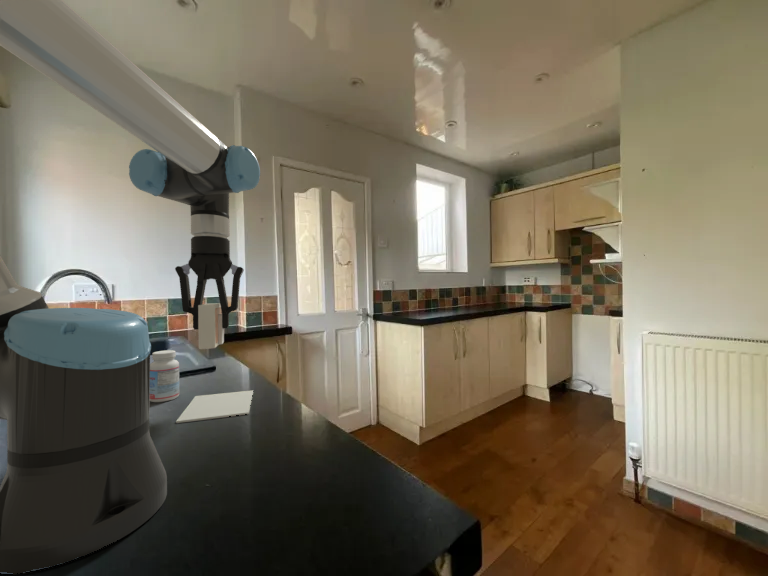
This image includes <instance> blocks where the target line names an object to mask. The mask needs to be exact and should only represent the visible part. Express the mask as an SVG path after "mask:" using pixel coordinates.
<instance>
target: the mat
mask: <svg viewBox="0 0 768 576" xmlns="http://www.w3.org/2000/svg"><path fill="white" fill-rule="evenodd" d="M253 391H254V389H253V390H243V391H233V392H224V393H223V392H221V393H215V394H202V395H195V396H194V397H193V399H192V400H191V401H190V403H189V404H188V405H187V407H186V408H185V409H184V410H183V412H182V413H181V414H180V415H179V416H178V418H177V420H176V421H175V423H176V424H182V423H189V422H196V421H206V420H212V419H213V420H214V419H221V418H229V416H231V417H237V416H236V415H239V416H246V415H245V414H247V415H250V410H251V406H250V405H252V401H251V400H253V397H252V395H254V392H253Z"/></svg>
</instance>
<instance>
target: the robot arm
mask: <svg viewBox="0 0 768 576" xmlns="http://www.w3.org/2000/svg"><path fill="white" fill-rule="evenodd" d="M0 47H1V48H3V49H5V50H6V51H7V52H9V53H11V54H12V55H14V56H15V57H17V58H19V60H21V61H22V62H24V63H26V64H27V65H28V66H30V67H31V68H33V69H34V70H35V71H37V72H39V73H40V74H42V75H43V76H45V77H46V78H47V79H49V80H51V81H52V82H53V83H55V84H57V85H58V86H60V87H61V88H62V89H64V90H65V91H67V92H69V93H70V94H72V96H75V97H76V98H78V99H79V100H81V101H82V102H83V103H85V104H86V105H88V106H89V107H90V108H93V109H94V110H95V111H97V112H98V113H100V114H102V115H103V116H105V118H107V119H108V120H110V121H111V122H113V123H115V124H116V125H117V126H119V127H121V128H122V129H124V130H125V131H127V132H128V133H130V134H131V135H132V136H134V137H135V138H137V139H138V140H140V141H142V142H143V143H145V144H146V145H147V146H149V147H150V148H152V149H149V148H143V149H140V150H138V151H137V152H136V153H135V154H134V155H133V156H132V158H131V159H130V162H129V166H128V169H129V173H128V175H129V179H130V182H131V183H132V184H133V186H134V187H135V188H136V189H138V190H139V191H142V192H145V193H148V194H150V195H152V196H154V197H160V198H163V199H165V200H166V199H167V200H171V201H174V202H178V203H181V204H183V205H184V204H185V205H188V206H190V234H191V235H192V237H191V238H190V258H189V260H188V261H187V263H186V264H183V265H181V266H179V265H178V266H176V267H175V268H174V270H175V272H176V274H177V276H178V277H179V286H180V296H181V297H180V298H181V306H182V311H183V312H184V313H188V314H191V315H192V329H193V330H194V331H195V330H196V331H198V305H202V304H204V303H203V301H204V296H205V293H206V292H205V291H206V284H207V281H208V280H215V283H216V289H217V294H218V300H219V303H220V305H221V311H222V312H221V313H222V314H218V344H219V345H223V344H224V342H225V331H224V330H225V329H228V328H229V326H230V313H231V312H234V311H236V310H238V307H239V296H240V284H241V278H242V275H243V273H244V270H245V269H244V268H243V267H242V266H237V265H236V264H234V263H233V262H232V260H231V253H230V252H231V251H230V250H231V249H230V248H231V246H230V240H229V237H230V194H234V193H235V194H239V193H240V192H244V191H245V192H247V191H251V190H254V189H255V188H256V187H258V185H259V183H260V176H261V168H260V164H259V161H258V159H257V157H256V156H255V153H254V152H253V151H252V150H251V149H249V148H248V147H246V146H243V145H234V144H232V145H231V146H229V145H228V146H227V145H226V144H225V143H224V142H223V141H222V140H221V139H220V138H219V137H217V136H216V135H215V134H214V133H213V132H212V131H211V130H210V129H208V128H207V127H206V126H205V125H204V124H202V122H201V121H199V119H197V118H196V117H195V116H194V115H192V113H190V112H189V111H188V110H187V109H186V108H185V107H183V106H182V105H181V104H180V103H179V102H178V101H177V100H175V99H174V98H173V96H171V95H170V94H169V93H167V91H166V90H164V89H163V88H162V87H161V86H160V85H159V84H158V83H156V82H155V81H154V80H153V78H151V77H150V76H148V75H147V73H145V72H144V71H143V70H142V69H141V68H139V67H138V66H137V65H136V64H135V63H134V62H133V61H132V60H130V58H129V57H127V56H126V55H125V54H124V53H123V52H121V51H120V49H118V48H117V47H116V46H114V45H113V44H112V43H111V42H110V41H109V40H108V39H107V38H106V37H105V36H103V35H102V34H101V33H100V32H99V31H98V30H96V29H95V28H94V27H93V26H92V25H91V24H90V23H89V22H87V21H86V19H84V18H82V16H80V14H79V13H77V12H76V11H75V10H74V9H73V8H72V7H71V6H70V5H68V3H66V2H65V1H64V0H0ZM3 259H4V258H2V256H1V255H0V420H6V425H7V426H6V427H7V428H6V431H7V433H6V440H7V442H6V443H7V445H6V446H7V453H6V454H7V455H6V456H7V459H6V461H7V462H6V463H7V464H6V472H5V475H4V476H3V479H2V481H1V483H0V572H7V573H13V575H21V574H20V573H23V572H26V571H31V570H33V569H39V568H44V567H49V566H50V567H51V566H54V565H57V564H60V563H64V562H67V561H71V560H73V559H75V558H77V557H81V556H84V555H87V554H89V553H91V552H93V553H95V552H94V551H96V552H97V550H98V551H100V550H102V549H103V548H102V547H104V546H106V547H108V546H110V545H112V544H113V542H114V543H116V542H117V540H118V541H120V540H121V539H123V538H125V537H126V536H128V535H130V534H131V533H132V532H134V531H135V530H137V529H138V528H139V527H141V526H142V525H143V524H145V523H147V521H148V520H150V519H151V518H152V517H153V516H154V515H155V514H156V513H157V512H158V510H159V509H160V508H161V507H162V506H163V504H164V503H165V501H166V498H167V495H168V481H167V480H168V476H167V471H166V469H165V466H164V464H163V461H162V460H161V457H160V455H159V453H158V451H157V448H156V445H155V443H154V441H153V439H152V437H151V434H150V402H151V401H150V364H151V350H152V343H151V341H150V334H149V327H148V323H147V321H146V320H145V318H144V317H142V316H141V315H139V314H137V313H135V312H130V311H127V310H120V309H111V308H110V309H109V308H92V307H53V308H51V307H49V306H48V304H47V302H46V299H44V297H43V295H42V293H41V292H40V291H37V290H34V289H31V288H28V287H24V286H21V285H20V284H18V283H17V282H16V280H15V278H14V277H13V275H12V273H11V272H10V270H9V268H8V267H7V265H6V263H5V261H4V260H3ZM190 270H191V271H193V272H194V274H195V275H196V276H197V279H196V289H195V293H194V294H195V295H194V301H193V304H192V296H191V286H190V278H189V275H190V273H191V271H190ZM230 270H231V275H233V277H232V287H231V298H230V299H231V300H230V306H229V302H228V297H227V292H226V291H227V290H226V286H225V285H226V284H225V279H224V277H225V276H226V275H227V273H228V272H229V271H230ZM192 305H193V306H192ZM111 543H112V544H111ZM109 544H110V545H109ZM107 545H108V546H107ZM101 548H102V549H101ZM104 548H105V547H104ZM99 549H100V550H99ZM91 554H92V553H91ZM89 555H90V554H89ZM87 556H88V555H87ZM84 557H85V556H84ZM71 562H72V561H71ZM17 573H18V574H17ZM23 574H24V573H23Z"/></svg>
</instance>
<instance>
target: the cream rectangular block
mask: <svg viewBox="0 0 768 576" xmlns="http://www.w3.org/2000/svg"><path fill="white" fill-rule="evenodd" d="M221 312H222V311H221V305H220V302H218V303H216V302H215V303H203V304H202V305H198V330H197V331H198V350H206V349H207V350H208V349H209V350H210V349H216V348H217V347H218V346H219V345H220V344H218V314H222V313H221Z"/></svg>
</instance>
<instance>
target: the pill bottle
mask: <svg viewBox="0 0 768 576" xmlns="http://www.w3.org/2000/svg"><path fill="white" fill-rule="evenodd" d="M151 355H152V357H151V358H152V360H153V362H150V402H151V403H163V402H167V401H172V400H175V399H177V398H178V397H179V395H180V362H179V361H178V360H177V359H175V358H176V355H177V353H176V350H172V349H169V350H168V349H167V350H166V349H165V350H159V351H154V352H152V354H151Z"/></svg>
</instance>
